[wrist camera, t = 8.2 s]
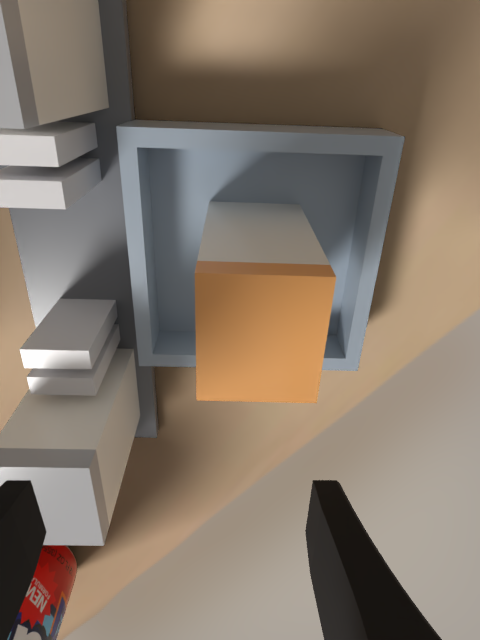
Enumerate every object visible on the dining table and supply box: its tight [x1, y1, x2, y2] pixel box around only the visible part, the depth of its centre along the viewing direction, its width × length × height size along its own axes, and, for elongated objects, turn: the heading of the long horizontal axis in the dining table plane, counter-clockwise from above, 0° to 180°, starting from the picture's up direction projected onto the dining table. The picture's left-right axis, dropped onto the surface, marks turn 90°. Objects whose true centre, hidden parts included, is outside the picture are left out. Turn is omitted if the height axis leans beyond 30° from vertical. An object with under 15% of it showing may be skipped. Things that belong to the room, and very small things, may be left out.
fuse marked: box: [195, 201, 336, 403], centre depth 15 cm, size 4×4×7 cm
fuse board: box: [0, 0, 159, 438], centre depth 16 cm, size 5×21×5 cm, turn 178°
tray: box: [116, 120, 405, 371], centre depth 17 cm, size 9×9×2 cm
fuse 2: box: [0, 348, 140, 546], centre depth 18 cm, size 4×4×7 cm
